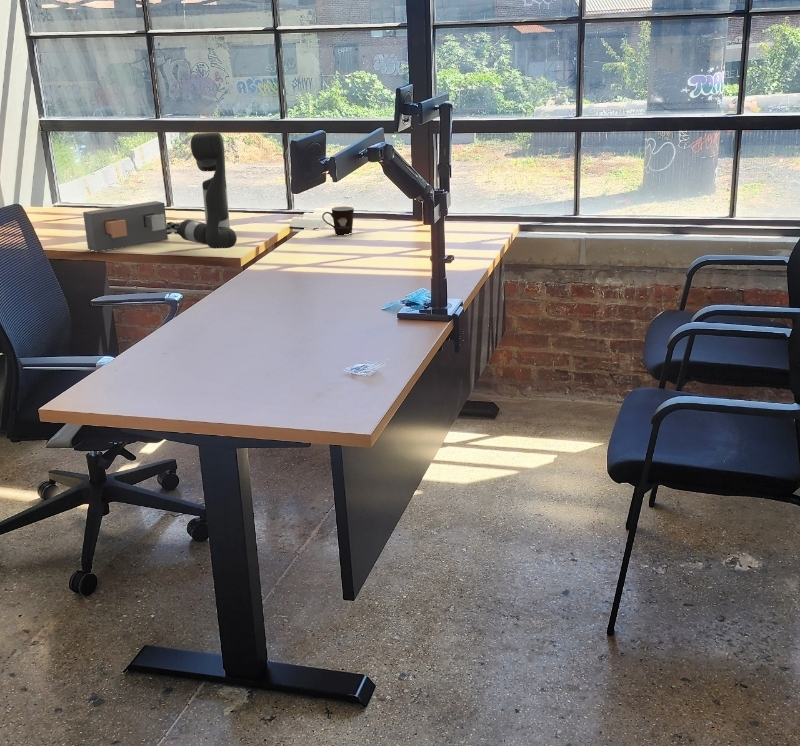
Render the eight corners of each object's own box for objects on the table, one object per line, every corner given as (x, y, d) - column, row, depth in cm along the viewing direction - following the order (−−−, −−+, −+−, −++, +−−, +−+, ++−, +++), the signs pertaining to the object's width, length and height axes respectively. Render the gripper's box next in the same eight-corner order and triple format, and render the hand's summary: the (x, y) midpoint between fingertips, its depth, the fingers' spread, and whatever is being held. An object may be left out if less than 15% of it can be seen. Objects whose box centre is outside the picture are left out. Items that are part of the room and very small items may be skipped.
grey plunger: (139, 227, 348) (137, 212, 346) (152, 225, 352) (150, 210, 350) (152, 231, 342) (150, 216, 340) (165, 228, 345) (164, 213, 343)
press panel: (88, 249, 339) (83, 212, 334) (160, 236, 358) (156, 201, 353) (95, 252, 335) (90, 214, 330) (168, 239, 354) (164, 202, 349)
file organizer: (288, 230, 370) (287, 217, 368) (325, 214, 400) (325, 202, 399) (318, 232, 365) (317, 219, 364) (353, 216, 396) (352, 204, 394)
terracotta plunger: (100, 234, 338) (98, 218, 336) (113, 231, 342) (112, 216, 340) (113, 237, 331) (111, 222, 329) (127, 235, 335) (125, 220, 333)
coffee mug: (358, 232, 360) (357, 207, 356) (348, 237, 353) (347, 211, 349) (332, 230, 364) (331, 205, 361) (321, 234, 357) (320, 209, 354)
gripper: (209, 218, 329) (183, 212, 341) (177, 223, 320) (151, 217, 332) (211, 238, 332) (185, 232, 343) (179, 244, 323) (154, 237, 335)
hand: (168, 225), depth 338 cm, fingers closed
